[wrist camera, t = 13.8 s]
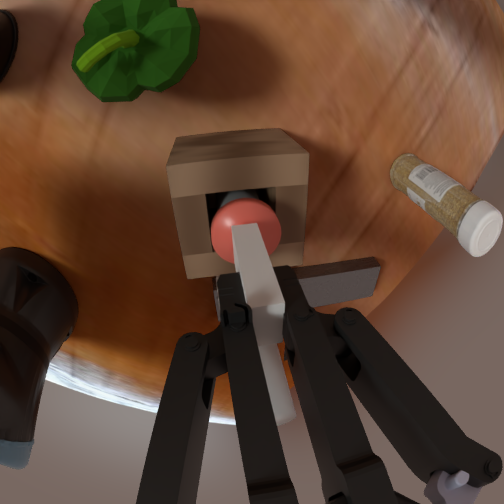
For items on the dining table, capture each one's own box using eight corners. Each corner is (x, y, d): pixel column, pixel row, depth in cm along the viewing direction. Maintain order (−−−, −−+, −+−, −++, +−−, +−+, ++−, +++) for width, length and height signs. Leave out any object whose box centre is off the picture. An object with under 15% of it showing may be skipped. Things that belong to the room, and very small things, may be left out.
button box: (189, 228, 29) (187, 281, 22) (176, 137, 23) (165, 166, 17) (279, 217, 30) (302, 266, 23) (279, 128, 24) (309, 153, 18)
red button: (210, 212, 26) (215, 268, 19) (205, 165, 23) (207, 209, 17) (259, 207, 26) (280, 260, 20) (258, 160, 24) (282, 201, 17)
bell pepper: (192, -7, 16) (187, -50, 8) (208, 79, 21) (210, 83, 13) (95, 22, 16) (39, 5, 8) (112, 105, 20) (63, 129, 12)
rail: (217, 309, 36) (218, 321, 34) (212, 278, 33) (213, 290, 31) (365, 286, 38) (372, 296, 36) (373, 256, 35) (380, 266, 33)
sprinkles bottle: (387, 192, 30) (465, 265, 19) (388, 154, 27) (478, 217, 16) (418, 185, 30) (496, 251, 19) (420, 149, 27) (509, 207, 16)
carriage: (222, 318, 36) (239, 439, 23) (215, 270, 32) (231, 408, 19) (277, 311, 37) (311, 425, 24) (279, 262, 32) (325, 391, 20)
